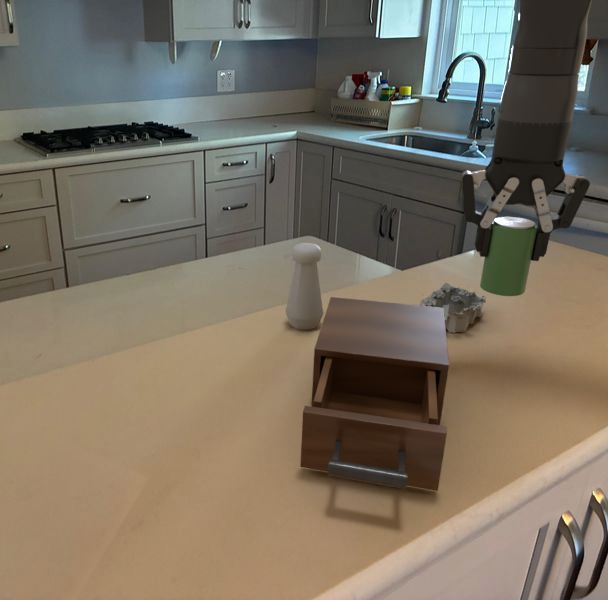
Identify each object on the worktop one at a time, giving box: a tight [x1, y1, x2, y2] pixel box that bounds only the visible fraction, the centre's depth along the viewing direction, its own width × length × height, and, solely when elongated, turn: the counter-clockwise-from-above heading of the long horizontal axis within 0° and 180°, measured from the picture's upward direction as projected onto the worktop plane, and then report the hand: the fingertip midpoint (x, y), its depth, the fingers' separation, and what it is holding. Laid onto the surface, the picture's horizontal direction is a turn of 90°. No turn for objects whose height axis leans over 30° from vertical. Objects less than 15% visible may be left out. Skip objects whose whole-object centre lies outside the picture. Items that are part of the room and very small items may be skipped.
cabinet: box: [310, 296, 450, 425], centre depth 77 cm, size 16×15×9 cm
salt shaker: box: [285, 242, 324, 331], centre depth 94 cm, size 6×6×13 cm
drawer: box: [299, 356, 448, 492], centre depth 64 cm, size 19×13×7 cm
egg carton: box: [420, 282, 487, 334], centre depth 96 cm, size 11×8×4 cm
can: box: [479, 216, 538, 297], centre depth 76 cm, size 5×5×9 cm
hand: (508, 256), depth 76 cm, fingers closed on can, 5 cm apart
